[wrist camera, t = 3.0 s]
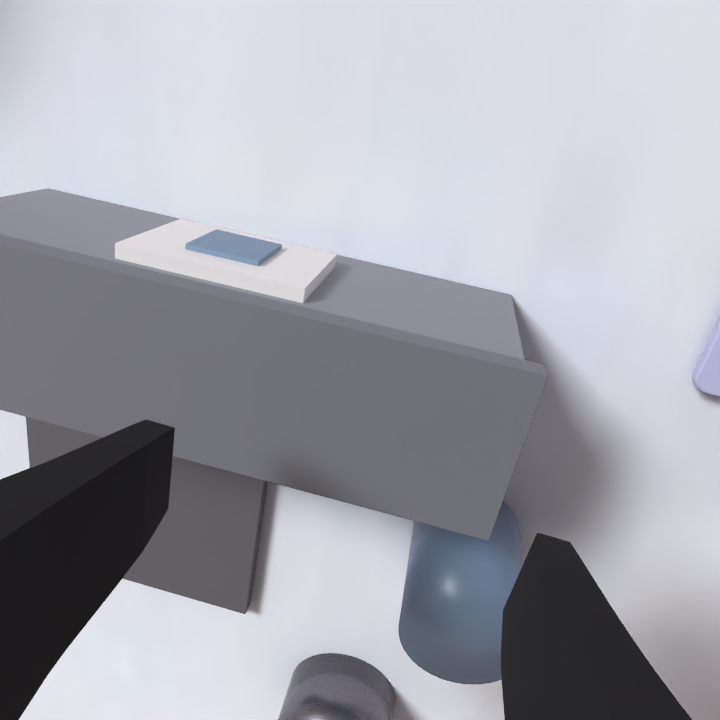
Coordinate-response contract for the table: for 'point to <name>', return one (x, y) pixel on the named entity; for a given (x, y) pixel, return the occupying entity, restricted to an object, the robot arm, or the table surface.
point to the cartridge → (459, 599)
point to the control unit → (265, 357)
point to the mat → (187, 525)
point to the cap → (338, 690)
